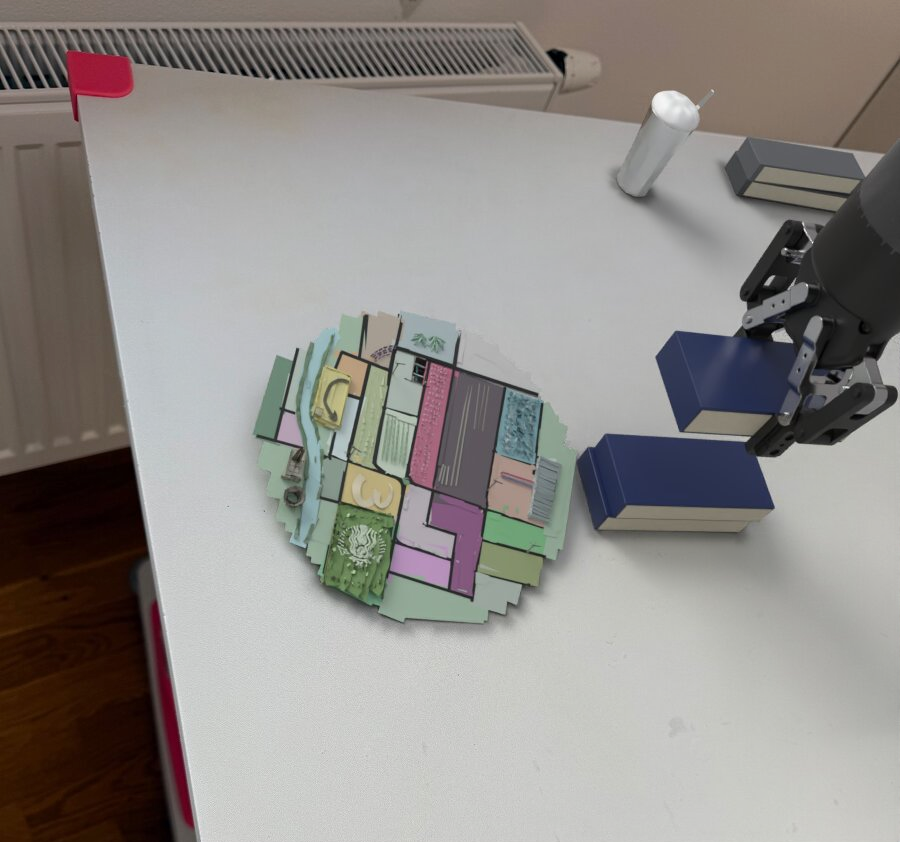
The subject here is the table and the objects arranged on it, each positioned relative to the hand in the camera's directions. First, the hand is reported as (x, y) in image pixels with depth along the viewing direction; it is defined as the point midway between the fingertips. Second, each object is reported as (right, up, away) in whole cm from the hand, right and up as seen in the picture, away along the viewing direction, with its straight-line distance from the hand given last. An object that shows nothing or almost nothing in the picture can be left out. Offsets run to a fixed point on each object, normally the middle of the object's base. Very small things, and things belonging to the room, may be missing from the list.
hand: (741, 409), depth 65 cm
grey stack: (+15, +29, +35) cm, 48 cm away
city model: (-22, -4, +2) cm, 23 cm away
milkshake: (-2, +26, +27) cm, 38 cm away
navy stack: (-4, -5, +9) cm, 11 cm away
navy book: (0, 0, -1) cm, 1 cm away
